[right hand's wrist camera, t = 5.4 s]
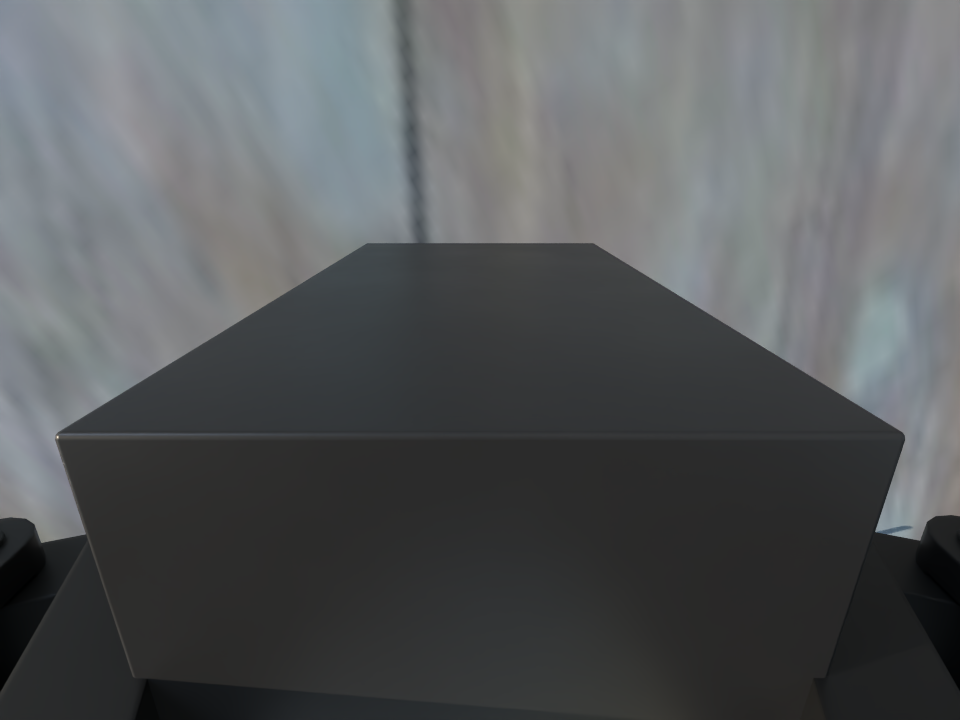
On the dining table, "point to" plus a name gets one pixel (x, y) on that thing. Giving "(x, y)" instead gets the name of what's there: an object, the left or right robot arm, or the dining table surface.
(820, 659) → the box
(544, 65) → the dining table surface
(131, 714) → the right robot arm
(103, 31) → the dining table surface
